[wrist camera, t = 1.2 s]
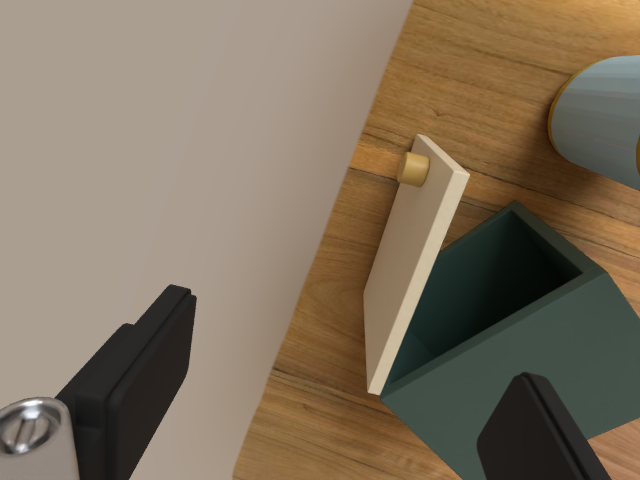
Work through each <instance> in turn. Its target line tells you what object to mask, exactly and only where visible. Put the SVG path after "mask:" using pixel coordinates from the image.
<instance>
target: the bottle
mask: <svg viewBox="0 0 640 480" xmlns="http://www.w3.org/2000/svg"><path fill="white" fill-rule="evenodd" d="M547 126H548V134H549V139H550V141H551V143H552V145H553V147H554V149H555V150H556V152H557V153H558V154H560V155H561V156H562V157H563V158H565V159H566V160H568V161H570V162H572V163H574V164H576V165H578V166H581V167H583V168H586V169H588V170H590V171H593V172H595V173H597V174H600V175H602V176H605V177H607V178H609V179H612V180H614V181H617V182H619V183H621V184H624V185H626V186H629V187H631V188H633V189H636V190H638V191H640V55H636V56H619V57H610V58H605V59H602V60H599V61H596V62H593V63H591V64H589V65H587V66H586V67H584V68H583V69H581V70H580V71H578V72H577V73H575V74H574V75H573V76H572V77H571V78H570V79H569V80H568V81H567V82H566V83H565V84H564V85H563V86H562V87H561V89H560V90H559V92H558V93H557V95H556V97H555V99H554V101H553V103H552V105H551V108H550V112H549V117H548V124H547Z"/></svg>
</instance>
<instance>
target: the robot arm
mask: <svg viewBox="0 0 640 480" xmlns="http://www.w3.org/2000/svg"><path fill="white" fill-rule="evenodd" d="M196 300H197V298H196V296H195V295H191V290H190V289H188V288H184V287H180V286H176V285H172V284H171V285H169V286H168V287H167V288H166V289H165V290H164V291H163V292H162V294H161V295H160V296H159V297H158V298H157V299H156V300H155V302H154V303H153V304H152V305H151V306H150V307H149V308H148V310H147V311H146V312H145V313H144V314H143V315H142V316H141V318H140V319H139V320H138V321H137V322H136V323H135V324H134V325H132V324H128V323H126V324H123V325H122V326H121V327H120V328H119V329H118V330H117V331H116V332H115V333H114V334H113V335H112V336H111V337H110V338H109V339H108V340H107V341H106V343H105V344H104V345H103V346H102V347H101V348H100V349H99V350H98V351H97V352H96V353H95V355H94V356H93V357H92V358H91V359H90V360H89V361H88V362H87V363H86V364H85V365H84V367H83V368H82V369H81V370H80V371H79V372H78V373H77V374H76V375H75V376H74V377H73V378H72V380H71V381H70V382H69V383H68V384H67V385H66V386H65V387H64V388H63V389H62V390H61V391H60V392H59V394H58V395H57V396H56V397H55V398H54V399H53V398H50V397H35V398H28V399H23V400H20V401H18V402H15V403H12V404H10V405H8V406H6V407H4V408H2V409H1V410H0V480H129V479H130V477H131V475H132V473H133V471H134V469H135V468H136V466H137V464H138V462H139V460H140V459H141V457H142V455H143V453H144V451H145V449H146V448H147V446H148V444H149V442H150V440H151V439H152V437H153V435H154V433H155V432H156V430H157V428H158V426H159V424H160V423H161V421H162V419H163V417H164V415H165V414H166V412H167V410H168V408H169V406H170V405H171V403H172V401H173V399H174V397H175V395H176V394H177V392H178V390H179V388H180V386H181V385H182V383H183V381H184V379H185V377H186V374H187V371H188V366H189V359H190V350H191V341H192V334H193V325H194V317H195V309H196ZM476 446H477V452H478V455H479V458H480V461H481V465H482V468H483V471H484V474H485V477H486V480H612V479H611V478H610V476H609V475H608V473H607V472H606V470H605V468H604V467H603V465H602V464H601V462H600V460H599V459H598V457H597V456H596V454H595V453H594V451H593V449H592V448H591V446H590V445H589V443H588V441H587V440H586V438H585V437H584V435H583V434H582V432H581V430H580V429H579V427H578V426H577V424H576V422H575V421H574V419H573V418H572V416H571V415H570V413H569V411H568V410H567V408H566V407H565V405H564V403H563V402H562V400H561V399H560V397H559V396H558V394H557V392H556V391H555V389H554V388H553V386H552V384H551V383H550V381H549V380H548V379H547V378H546V377H544V376H540V375H536V374H532V373H528V372H522V373H521V374H520V375H516V376H514V377H513V379H512V381H511V382H510V384H509V386H508V387H507V389H506V391H505V392H504V394H503V396H502V397H501V399H500V401H499V402H498V404H497V406H496V408H495V409H494V411H493V413H492V414H491V416H490V418H489V419H488V421H487V423H486V424H485V426H484V428H483V430H482V431H481V433H480V435H479V436H478V439H477V445H476Z"/></svg>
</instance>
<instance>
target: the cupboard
mask: <svg viewBox="0 0 640 480" xmlns="http://www.w3.org/2000/svg"><path fill="white" fill-rule="evenodd" d="M522 372H528V373H532V374H536V375H540V376H544V377H546V378H547V379H548V380H549V381H550V383H551V384H552V386H553V388H554V389H555V391H556V392H557V394H558V396H559V397H560V399H561V400H562V402H563V403H564V405H565V407H566V408H567V410H568V411H569V413H570V415H571V416H572V418H573V419H574V421H575V422H576V424H577V426H578V427H579V429H580V430H581V432H582V434H583V435H584V437H585V438H586V440H588V439H591V438H593V437H595V436H598V435H600V434H602V433H605V432H607V431H609V430H612V429H614V428H616V427H619V426H621V425H623V424H626V423H628V422H630V421H633V420H635V419H637V418H640V318H639V317H638V315H637V314H636V313H635V311H634V310H633V308H632V307H631V305H630V304H629V302H628V301H627V299H626V298H625V297H624V295H623V294H622V292H621V291H620V289H619V288H618V286H617V285H616V284H615V282H614V281H613V279H612V278H611V276H610V275H609V273H608V272H607V271H606V270H604V269H603V268H602V267H600V266H599V265H598V264H596V263H595V262H594V261H593V260H591V259H590V258H589V257H588V256H586V255H585V254H584V253H583V252H581V251H580V250H579V249H578V248H576V247H575V246H574V245H572V244H571V243H570V242H569V241H567V240H566V239H565V238H564V237H562V236H561V235H560V234H559V233H557V232H556V231H555V230H553V229H552V228H551V227H550V226H548V225H547V224H546V223H545V222H543V221H542V220H541V219H540V218H538V217H537V216H536V215H535V214H533V213H532V212H531V211H529V210H528V209H527V208H526V207H524V206H523V205H522V204H520V203H519V202H518V201H517V200H515V201H514V202H512V203H511V204H509V205H508V206H506V207H505V208H503V209H502V210H500V211H499V212H498V213H496V214H495V215H493V216H492V217H490V218H489V219H487V220H486V221H484V222H483V223H481V224H480V225H478V226H477V227H475V228H474V229H472V230H471V231H470V232H468V233H467V234H465V235H464V236H462V237H461V238H459V239H458V240H456V241H455V242H453V243H452V244H450V245H449V246H447V247H446V248H444V249H443V250H442V251H440V252H439V253H438V255H437V257H436V259H435V262H434V264H433V267H432V269H431V272H430V274H429V277H428V279H427V281H426V284H425V286H424V289H423V291H422V294H421V296H420V299H419V301H418V303H417V306H416V308H415V311H414V313H413V316H412V318H411V320H410V323H409V325H408V328H407V330H406V333H405V335H404V338H403V340H402V342H401V345H400V347H399V350H398V352H397V355H396V357H395V359H394V362H393V364H392V367H391V369H390V372H389V374H388V377H387V379H386V381H385V384H384V386H383V389H382V391H381V394H380V400H381V401H382V402H383V403H384V404H385V405H386V406H387V407H388V408H389V409H390V410H391V411H392V412H393V413H394V414H395V415H396V416H397V417H398V418H399V419H400V420H401V421H402V422H403V423H404V424H405V425H407V426H408V427H409V428H410V429H411V430H412V431H413V432H414V433H415V434H416V435H417V436H418V437H419V438H420V439H421V440H422V441H423V442H424V443H425V444H426V445H427V446H428V447H429V448H430V449H431V450H432V451H433V452H435V453H436V454H437V455H438V456H439V457H440V458H441V459H442V460H443V461H444V462H445V463H446V464H447V465H448V466H449V467H450V468H451V469H452V470H453V471H454V472H455V473H456V474H457V475H458V476H459V477H460V478H462V479H463V480H486V477H485V474H484V471H483V468H482V465H481V461H480V458H479V455H478V452H477V446H476V445H477V439H478V436H479V435H480V433H481V431H482V430H483V428H484V426H485V424H486V423H487V421H488V419H489V418H490V416H491V414H492V413H493V411H494V409H495V408H496V406H497V404H498V402H499V401H500V399H501V397H502V396H503V394H504V392H505V391H506V389H507V387H508V386H509V384H510V382H511V381H512V379H513V377H514V376H516V375H520V374H521V373H522Z"/></svg>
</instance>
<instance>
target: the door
mask: <svg viewBox="0 0 640 480" xmlns="http://www.w3.org/2000/svg"><path fill="white" fill-rule="evenodd" d="M469 177H470V174H469V173H468V172H466V171H465V170H464V169H463V168H462V167H461V166H460V165H458V164H457V163H456V162H455V161H454V160H453V159H452V158H451V157H449V156H448V155H447V154H446V153H445V152H444V151H443V150H442V149H440V148H439V147H438V146H437V145H436V144H435V143H434V142H433V141H431V140H430V139H429V138H428V137H427V136H424V135H420V134H416V137H415V140H414V143H413V146H412V149H411V152H406V153H405V154H404V155H403V157H402V159H401V162H400V165H399V169H398V173H397V181H398V182H400V185H399V188H398V191H397V194H396V197H395V200H394V203H393V206H392V209H391V212H390V215H389V218H388V221H387V224H386V227H385V230H384V233H383V236H382V239H381V242H380V245H379V248H378V251H377V254H376V257H375V260H374V263H373V266H372V269H371V272H370V275H369V278H368V281H367V284H366V287H365V290H364V293H363V299H364V322H365V346H366V370H367V392H368V393H372V394H376V395H380V394H381V391H382V389H383V386H384V384H385V381H386V379H387V377H388V374H389V372H390V369H391V367H392V364H393V362H394V359H395V357H396V355H397V352H398V350H399V347H400V345H401V342H402V340H403V338H404V335H405V333H406V330H407V328H408V325H409V323H410V320H411V318H412V316H413V313H414V311H415V308H416V306H417V303H418V301H419V299H420V296H421V294H422V291H423V289H424V286H425V284H426V281H427V279H428V277H429V274H430V272H431V269H432V267H433V264H434V262H435V259H436V257H437V255H438V252H439V250H440V247H441V245H442V242H443V240H444V238H445V235H446V233H447V230H448V228H449V225H450V223H451V220H452V218H453V216H454V213H455V211H456V208H457V206H458V203H459V201H460V199H461V196H462V194H463V191H464V189H465V186H466V184H467V181H468V179H469Z"/></svg>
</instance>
